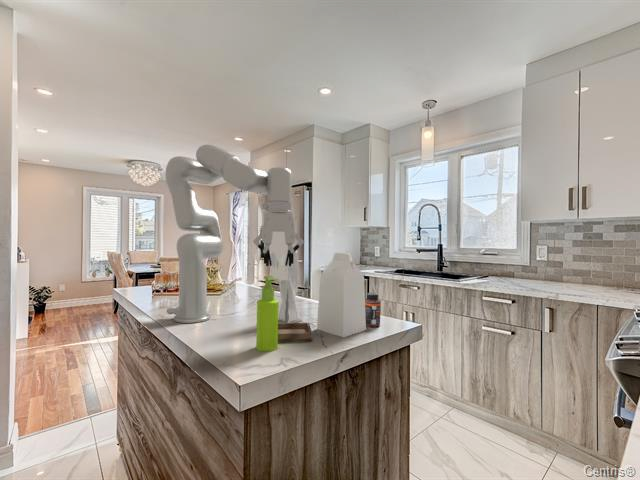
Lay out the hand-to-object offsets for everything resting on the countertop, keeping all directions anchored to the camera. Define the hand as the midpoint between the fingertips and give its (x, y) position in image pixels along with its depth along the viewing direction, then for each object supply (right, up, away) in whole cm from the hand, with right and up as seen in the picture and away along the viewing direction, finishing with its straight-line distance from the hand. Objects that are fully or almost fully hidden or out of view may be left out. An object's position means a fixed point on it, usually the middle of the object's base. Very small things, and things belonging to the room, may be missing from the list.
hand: (278, 265), depth 99 cm
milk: (+20, -23, +9) cm, 32 cm away
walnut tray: (+4, -22, +1) cm, 23 cm away
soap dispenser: (-2, -22, -11) cm, 25 cm away
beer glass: (0, -5, 0) cm, 5 cm away
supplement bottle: (+31, -23, +15) cm, 42 cm away
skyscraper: (+1, -22, +19) cm, 29 cm away
